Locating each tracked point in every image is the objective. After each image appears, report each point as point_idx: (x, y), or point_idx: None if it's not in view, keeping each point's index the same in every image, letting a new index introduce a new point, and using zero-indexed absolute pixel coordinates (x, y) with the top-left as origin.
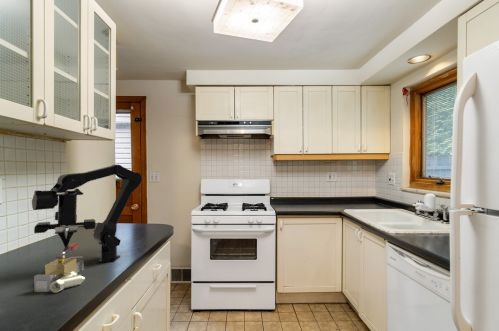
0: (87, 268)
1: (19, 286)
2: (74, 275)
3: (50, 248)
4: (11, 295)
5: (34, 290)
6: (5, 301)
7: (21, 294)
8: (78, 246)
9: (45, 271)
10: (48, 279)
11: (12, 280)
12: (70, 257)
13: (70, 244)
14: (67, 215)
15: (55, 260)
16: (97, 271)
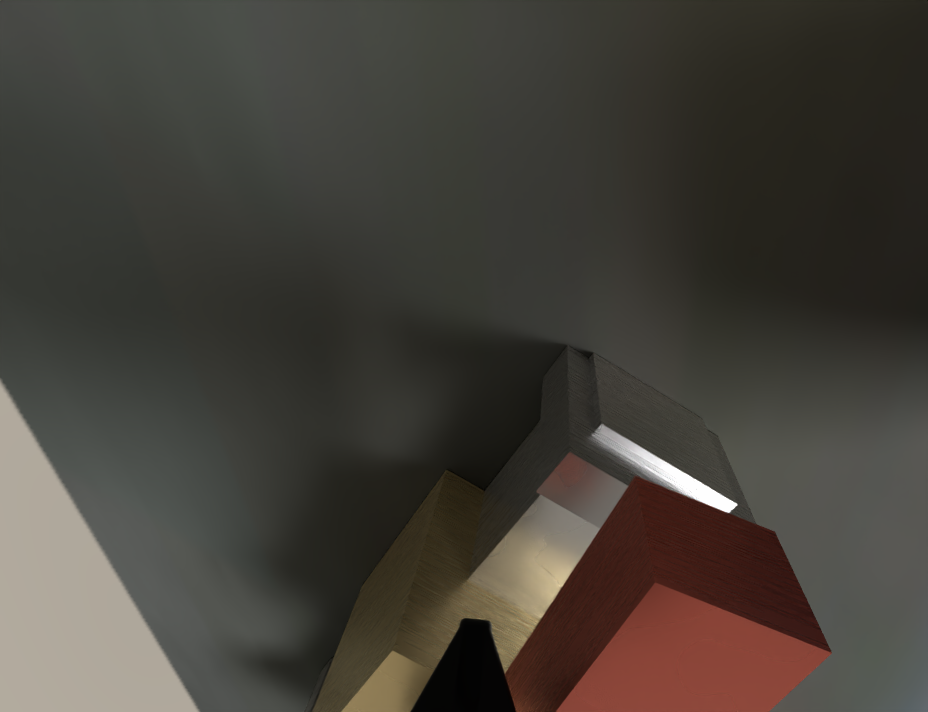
0: (764, 422)
1: (164, 510)
2: None
3: None
4: (185, 634)
5: (316, 683)
6: (191, 692)
7: (246, 656)
8: (778, 546)
9: (319, 697)
10: None
11: (16, 315)
12: (565, 492)
13: (575, 706)
14: None
15: (369, 707)
16: (837, 582)
